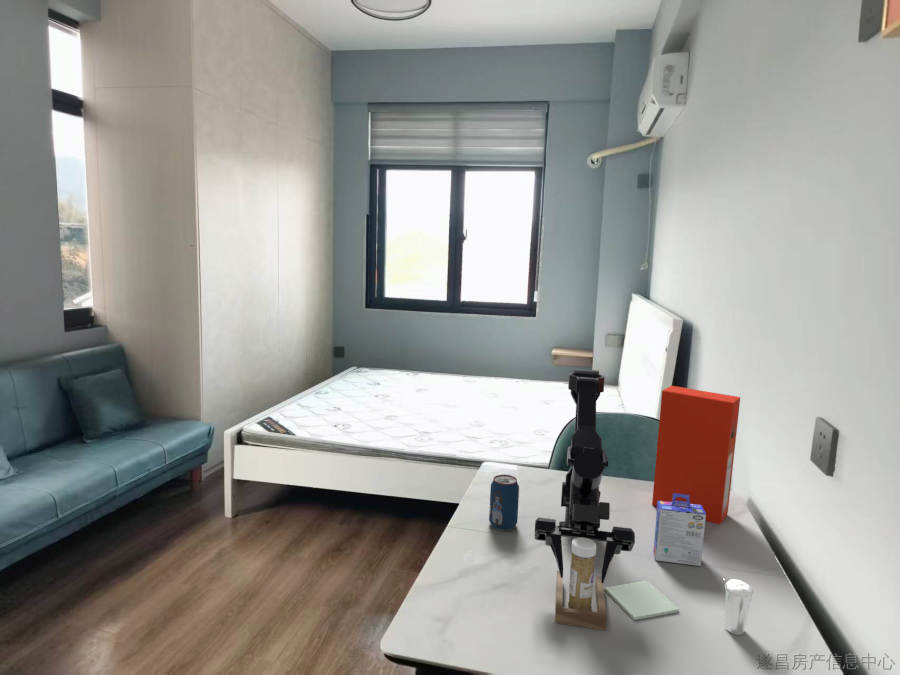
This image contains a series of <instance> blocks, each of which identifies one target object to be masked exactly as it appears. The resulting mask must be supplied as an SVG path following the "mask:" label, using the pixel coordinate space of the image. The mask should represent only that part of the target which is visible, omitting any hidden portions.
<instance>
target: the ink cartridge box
mask: <svg viewBox="0 0 900 675" xmlns="http://www.w3.org/2000/svg"><path fill="white" fill-rule="evenodd" d="M678 497H682V498H685V499H687V501H686V502H684V501H676V500H675V498H678ZM655 516H656V517H655V528H654V529H655V531H654V540H653V541H654V542H653V549H652V550H653V551H652V552H653V557H654V560H655V561H657V562H658V561H659V562H666V563H673V564H679V565H680V564H681V565H689V566H697V567H701V566H702V559H703V548H704V537H705V530H706V522H707V521H706V513H705V511H704V509H703V507H702V505H697V504H690V499H689V495H684V494H676V493H673V497H672V502H664V501H657V507H656V515H655Z"/></svg>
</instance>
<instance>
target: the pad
mask: <svg viewBox="0 0 900 675" xmlns="http://www.w3.org/2000/svg"><path fill="white" fill-rule="evenodd" d="M603 589H604V591H605V593H607V595H608V596H609V597H610V598H611V599H613V601H614V602H615V603H616V604H617V605H618V606H619V607H620V608H621V609H622V610H623V611H624V612H625V613H626V614H627V615H628V616H629V617H631V619H632V620H633V621H638V620H642V619H648V618H654V617H659V616H664V615H670V614H674V613H675V614H676V613H679V612H680V608H679V607H678V606H677V605H675V604H674V603H673V602H672V601H671V600H670V599H668V598H667V597H666V596H665V595H664V594H663V593H662V592H660V591H659V590H658V589H657V588H656V587H655V586H653V584H652V583H651V582H649V580H642V581H635V582H629V583H624V584H618V585H611V586H606V587H604V588H603Z"/></svg>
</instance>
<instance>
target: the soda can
mask: <svg viewBox="0 0 900 675" xmlns="http://www.w3.org/2000/svg"><path fill="white" fill-rule="evenodd" d="M489 490H490V492H489V512H488V514H489V516H488V522H489V524H490V525H491V526H492V528H493V529H495V530H497V531H501V532H502V531H503V532H507V531H512V530H513V529H515V527H516V525H517V524H518V521H519V520H518V516H519V514H518V513H519V499H520V484H519V483H518V479H517V477H515V476H513V475H511V474H497V475H495V476H493V480H492V481H491V484H490V489H489Z"/></svg>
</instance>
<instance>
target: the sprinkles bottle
mask: <svg viewBox="0 0 900 675" xmlns="http://www.w3.org/2000/svg"><path fill="white" fill-rule="evenodd" d="M570 546H571V547H570V550H571V560H570V562H571V563H570V569H569V570H570V571H569V583H568V586H569V587H568V593H569V594H568V602H567V608H571V609H577V610H584V611H591V612H592V607H593V606H592V598H593V591H594V578H595V575H594V573H595V572H594V571H595V557H596V555H597V544H596V541H595V540H591V539H588V538H582V537H580V538H572V541H571V545H570Z"/></svg>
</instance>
